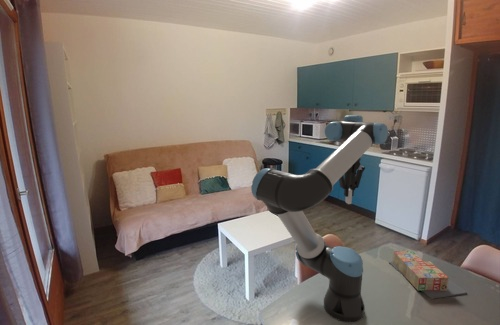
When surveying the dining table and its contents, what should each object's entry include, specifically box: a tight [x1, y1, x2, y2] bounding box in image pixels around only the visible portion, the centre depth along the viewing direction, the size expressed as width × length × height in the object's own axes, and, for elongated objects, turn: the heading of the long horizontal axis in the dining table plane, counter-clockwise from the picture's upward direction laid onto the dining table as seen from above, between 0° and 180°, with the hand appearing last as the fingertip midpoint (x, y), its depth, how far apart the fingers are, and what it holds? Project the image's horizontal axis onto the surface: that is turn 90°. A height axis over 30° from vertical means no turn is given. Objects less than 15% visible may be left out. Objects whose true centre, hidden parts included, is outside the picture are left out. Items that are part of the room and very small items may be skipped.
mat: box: [388, 260, 468, 300], centre depth 124 cm, size 17×26×1 cm, turn 9°
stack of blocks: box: [392, 250, 450, 292], centre depth 124 cm, size 21×6×12 cm
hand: (348, 202), depth 122 cm, fingers closed
